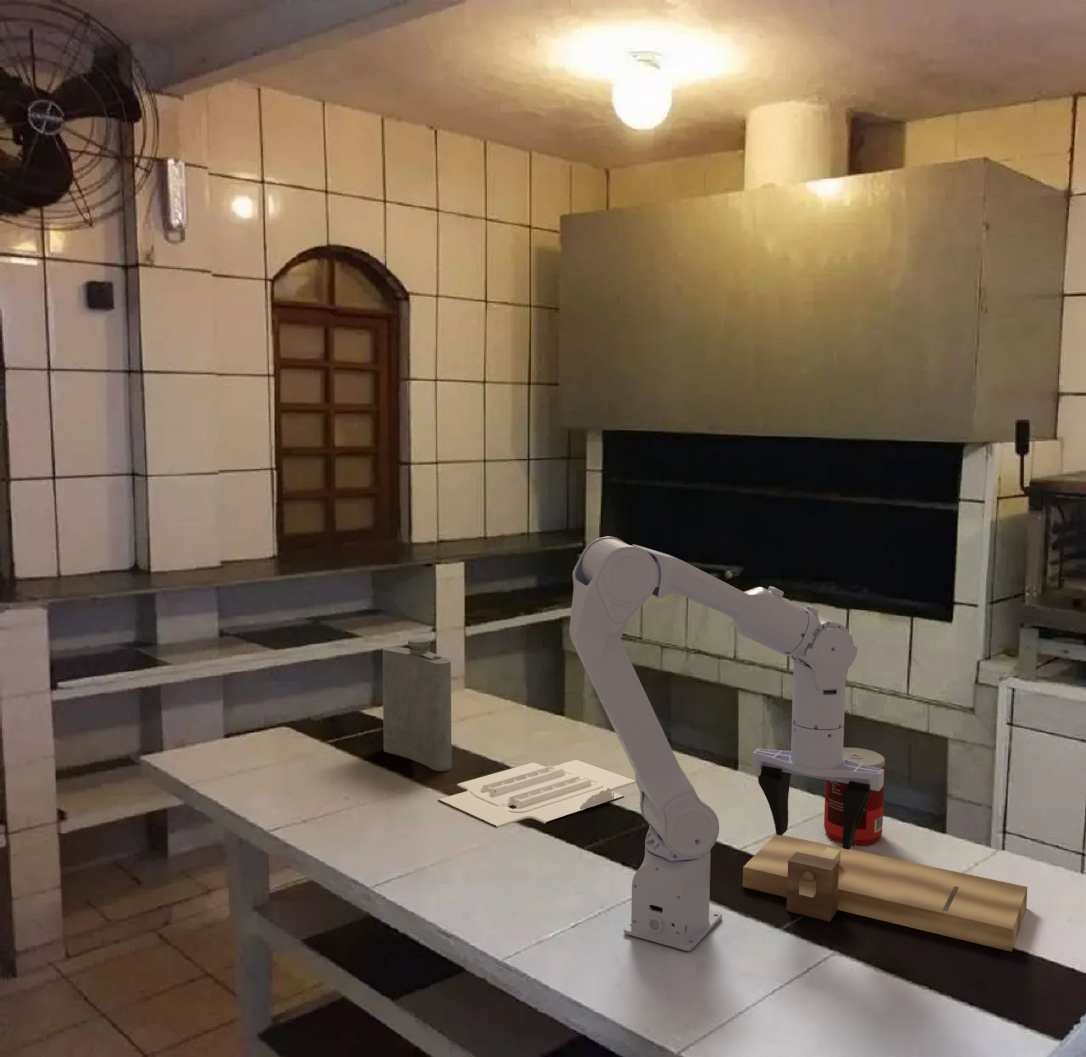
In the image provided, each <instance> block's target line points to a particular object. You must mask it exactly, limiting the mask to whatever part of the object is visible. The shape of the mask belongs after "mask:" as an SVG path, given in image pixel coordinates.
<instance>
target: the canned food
mask: <svg viewBox="0 0 1086 1057" xmlns="http://www.w3.org/2000/svg"><path fill="white" fill-rule="evenodd" d="M843 759H846V760H850V761H853V762H856V763H860V764H863V765H866V766H870V767H874V768H879V769H884V780H885V779H886V778H885V777H886V776H885V775H886V773H885V772H886V762H885V761H886V760H885V757H884V756H883V755H882V754H880V753H878V752H876V751H874V750H870V749H865V748H860V747H843ZM848 786H849V784H848V783H842V782H836V781H831V780H825V779H824V809H823V810H824V813H823V814H824V815H823V816H824V817H823V827H824V831H825V834H826V835H827V836H828V838H831V839H832V840H833V841H835V842H838V843H841V844H842V838H843V826H844V812H843V800H842V791H843V790H844V789H845V788H846V787H848ZM884 795H885V783H884V784H883V787H882V788H881V789H880V791H875V790H874V791H873V792H872V794H871V796H870V798H869V800H868V802H867V804H866V806H865V808H864V810H863V812H862V815H861V817H860V820H859V823H858V826H857V829H856V833H855V838H854V844H853V845H852V846H869V845H872V844H876V843H877V842H880V839H881V837H882V834H883V825H884V824H883V821H884V802H885V801H884V798H885V796H884Z"/></svg>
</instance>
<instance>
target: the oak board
mask: <svg viewBox="0 0 1086 1057" xmlns="http://www.w3.org/2000/svg"><path fill="white" fill-rule="evenodd" d="M827 847H828V848H833V849H838V850H841V856H840V864H839V876H838V904H837V911H842V912H846V913H850V914H854V915H858V916H863V917H866V918H871V919H874V920H879V921H882V922H883V921H884V922H887V923H891V924H895V925H899V926H903V927H908V928H912V929H916V930H920V931H925V932H928V933H931V934H932V933H933V934H938V935H940V936H945V937H949V938H953V939H958V940H961V941H965V942H970V943H974V944H978V945H981V946H982V945H983V946H986V947H991V948H994V949H999V950H1004V951H1007V952H1013V949H1014V946H1015V943H1016V941H1017V937H1018V934H1019V930H1020V928H1021V926H1022V921H1023V919H1024V915H1025V913H1026V910H1027V902H1028V886H1025V885H1021V884H1016V883H1010V882H1008V881H1007V882H1006V881H1002V880H997V879H992V878H987V877H983V876H978V875H974V874H968V873H963V872H961V871H960V872H958V871H954V870H950V869H944V868H940V867H935V866H931V865H926V864H921V863H916V862H911V861H907V860H902V859H897V858H892V857H889V856H882V855H879V854H873V853H869V852H865V851H860V850H859V851H858V850H855V849H851V848H850V849H843V847H840V846H835V845H831V844H827V843H822V842H817V841H811V840H807V839H802V838H797V837H793V836H787V835H785V834H783V835H782V836H781V835H777V834H776V833H775V834H774V835H773V836H772V837H771V838H770V839H769V840H768V841H767V842H766V843H765V844H764V845H763V846H762V847H761V849H760V850H758V851H757V852H756V853H755V854H754V855H753V856H752V858H750V859H749V861H747V862H746V864H744V865H743V867H742V887H743V888H747V889H751V890H754V891H758V892H759V891H760V892H762V893H766V894H767V893H768V894H771V895H774V896H775V895H776V896H779V897H783V898H787V878H788V860H789V859H790V858H791V857H792V856H793V855H794V854H795V852H800V853H805V854H809V855H814V856H819V857H820V856H821V855H822V853H823V852H824V851H825V850H826V849H827Z"/></svg>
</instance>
